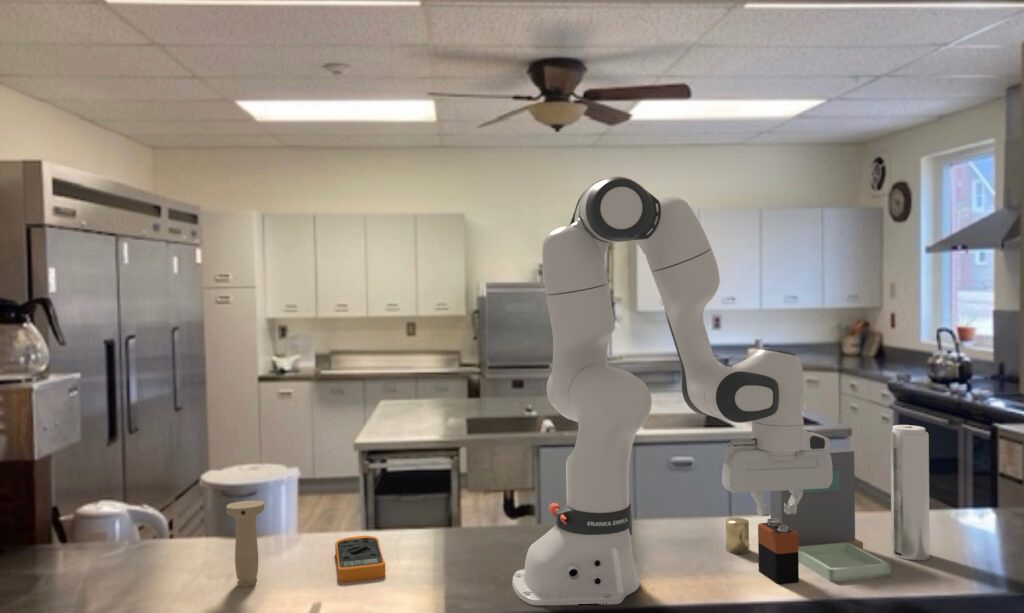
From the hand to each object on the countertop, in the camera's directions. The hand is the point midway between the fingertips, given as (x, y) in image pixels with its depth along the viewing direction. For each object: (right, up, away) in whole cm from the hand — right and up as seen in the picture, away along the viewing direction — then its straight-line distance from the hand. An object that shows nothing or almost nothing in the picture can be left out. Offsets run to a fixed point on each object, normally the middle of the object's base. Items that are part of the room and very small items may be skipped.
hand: (776, 514), depth 132 cm
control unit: (+12, -11, +14) cm, 22 cm away
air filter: (+30, -11, +10) cm, 33 cm away
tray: (+13, -11, +4) cm, 18 cm away
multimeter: (-78, -13, +10) cm, 79 cm away
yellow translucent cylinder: (-3, -11, +14) cm, 18 cm away
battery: (0, -12, 0) cm, 12 cm away
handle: (-96, -13, 0) cm, 97 cm away
